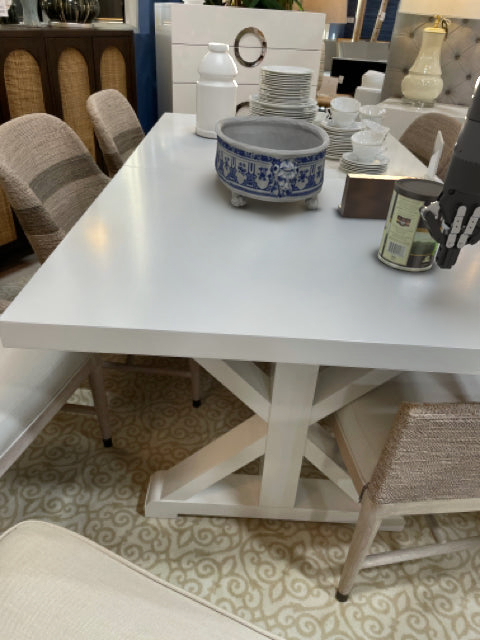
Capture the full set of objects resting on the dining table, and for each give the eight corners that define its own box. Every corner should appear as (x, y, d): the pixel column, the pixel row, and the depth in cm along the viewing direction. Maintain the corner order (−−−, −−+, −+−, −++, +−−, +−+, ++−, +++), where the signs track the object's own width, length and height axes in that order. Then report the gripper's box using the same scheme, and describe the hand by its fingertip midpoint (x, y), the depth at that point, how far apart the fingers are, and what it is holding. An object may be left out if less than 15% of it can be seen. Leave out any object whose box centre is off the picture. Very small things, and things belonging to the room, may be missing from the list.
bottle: (238, 133, 172) (244, 44, 157) (229, 141, 161) (234, 46, 146) (202, 128, 174) (203, 41, 159) (190, 136, 163) (191, 42, 148)
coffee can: (432, 254, 93) (455, 183, 85) (431, 276, 84) (456, 200, 77) (379, 244, 95) (397, 174, 88) (373, 264, 87) (392, 189, 79)
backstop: (403, 212, 112) (413, 174, 107) (410, 220, 108) (421, 181, 103) (337, 209, 111) (344, 170, 106) (342, 217, 107) (350, 177, 102)
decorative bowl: (342, 223, 103) (356, 153, 95) (222, 222, 99) (226, 149, 91) (296, 168, 138) (303, 113, 130) (205, 165, 134) (207, 108, 126)
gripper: (447, 159, 62) (411, 276, 71) (541, 165, 63) (494, 279, 73) (425, 146, 68) (395, 255, 78) (511, 151, 69) (472, 258, 79)
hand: (443, 266), depth 75 cm, fingers closed
